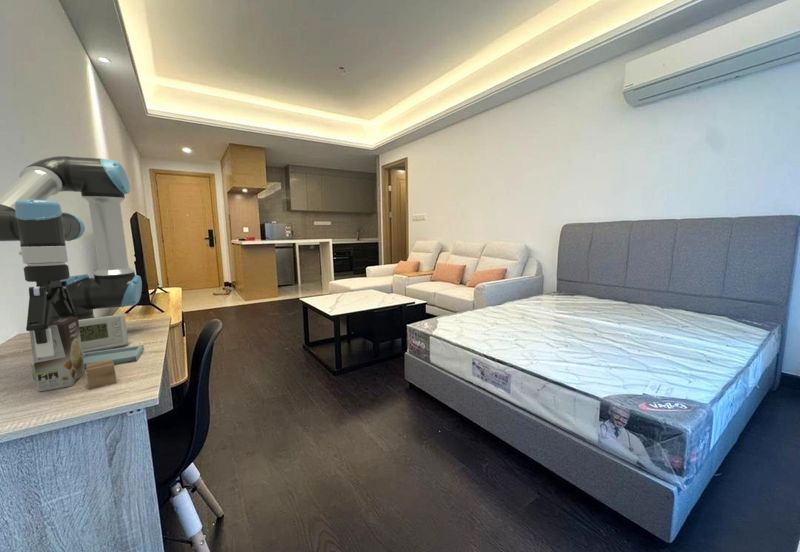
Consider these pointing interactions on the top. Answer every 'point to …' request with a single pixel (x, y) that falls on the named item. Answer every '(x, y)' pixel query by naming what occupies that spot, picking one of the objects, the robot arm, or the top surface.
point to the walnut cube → (100, 374)
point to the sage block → (33, 372)
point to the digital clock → (103, 333)
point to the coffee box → (60, 356)
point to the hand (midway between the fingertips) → (57, 348)
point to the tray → (114, 355)
